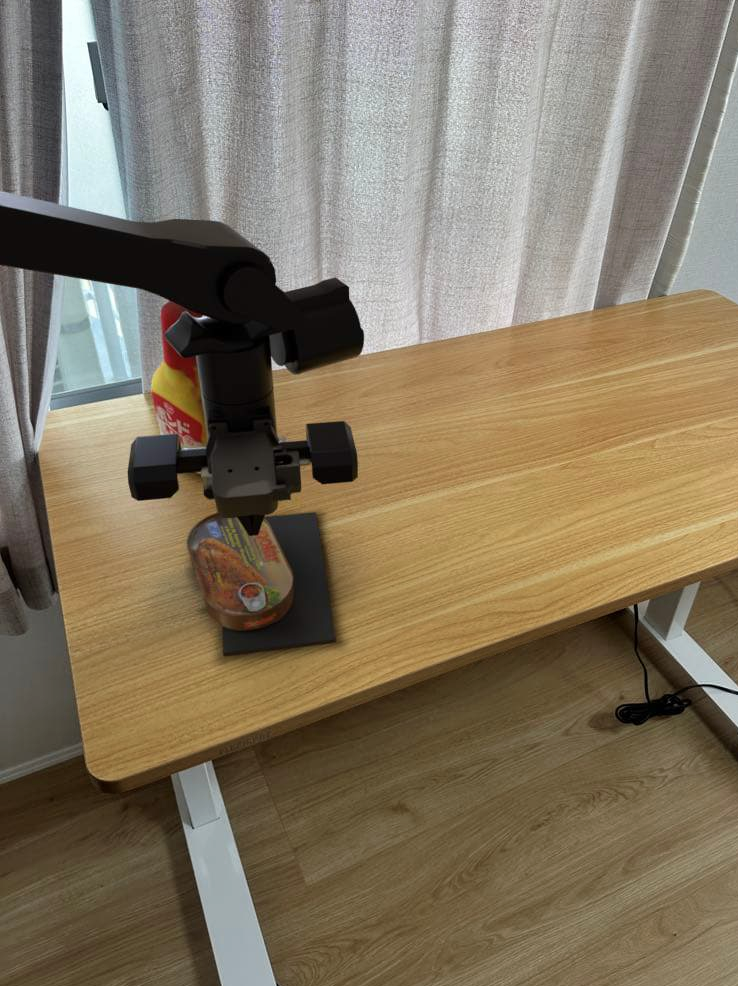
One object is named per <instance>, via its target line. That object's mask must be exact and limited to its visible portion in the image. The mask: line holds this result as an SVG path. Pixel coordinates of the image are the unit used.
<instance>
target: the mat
mask: <svg viewBox="0 0 738 986" xmlns="http://www.w3.org/2000/svg"><path fill="white" fill-rule="evenodd" d="M264 519H265V520H267V522H268V523H269V524H270V526H271V528H272V530H273V532H274V535H275V537H276V539H277V541H278V543H279V545H280V547H281V549H282V551H283V553H284V555H285V557H286V559H287V561H288V564H289V566H290V568H291V570H292V572H293V578H294V580H293V589H294V596H293V602H292V605H291V607H290V609H289V610H288V612H287V613H286V614H285V615H284V616H283V617H282V618H281V619H280V620H278V621H277V622H275V623H272V624H270V625H268V626H265V627H262V628H258V629H253V630H248V631H236V630H231V629H228V628H225V627H223V626H222V656H232V655H239V654H249V653H255V652H256V653H257V652H264V651H272V650H281V649H289V648H296V647H297V648H298V647H305V646H313V645H322V644H330V643H336V642H337V640H336V633H335V626H334V620H333V614H332V613H333V612H332V608H331V600H330V593H329V587H328V582H327V580H328V579H327V575H326V568H325V562H324V555H323V549H322V543H321V536H320V530H319V524H318V516H317V512H315V511H311V512H304V513H303V512H302V513H293V514H282V515H271V516H270V515H269V516H265V517H264Z"/></svg>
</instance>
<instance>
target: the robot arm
mask: <svg viewBox="0 0 738 986" xmlns="http://www.w3.org/2000/svg"><path fill="white" fill-rule="evenodd" d="M0 266H3V267H8V268H16V269H21V270H27V271H32V272H39V273H43V274H50V275H57V276H62V277H68V278H74V279H79V280H85V281H91V282H95V283H96V282H97V283H101V284H107V285H114V286H119V287H127V288H132V289H138V290H142V291H145V292H148V293H151V294H153V295H156V296H158V297H161V298H163V299H165V300H167V301H168V302H169V301H171V302H173V303H175V304H177V305H179V306H181V307H183V308H186V309H188V310H190V311H192V312H195V313H198V314H201V315H203V316H202V318H195V317H193V316H191V315H190V314H189V313H188V312H183V313H182V314H181V317H180V319H179V320H178V321H177V322H176V323H175V324H173V325H172V326H171V327H170V328H169V329H168V330H167V331H166V332H165V334H164V337H165V339H166V340H167V341H168V342H169V344H170V345H171V346H172V347H173V348H174V349H175V350H176V351H177V352H178V354H179V355H180V356H181V357H182V358H189V357H193V356H196V360H197V367H198V374H199V381H200V388H201V395H202V402H203V409H204V416H205V423H206V430H207V437H208V438H207V441H206V447H196V448H183V449H181V442H180V436H179V435H178V434H167V435H160V434H156V435H155V434H154V435H142V436H141V435H140V436H136V438H135V439H134V440H133V442H132V443H131V444H130V450H129V459H128V466H127V483H128V487H129V493H130V496H131V497H130V498H132V499H134V500H135V501H138V502H141V501H142V502H143V501H154V500H164V499H165V500H166V499H171V498H172V497H173V496H174V495H176V494H177V492H178V491H179V490H180V483H179V482H180V481H179V478H178V475H180V474H191V473H192V474H193V473H196V472H201V474H200V477H201V479H202V480H203V497H205V498H206V499H207V500H209V501H211V500H214V503H215V507H216V513H217V512H218V514H219V515H220V516H222V517H224V518H236V517H237V518H238V520H239V521H240V523H241V524H242V526H243V527H244V529H245V531H246V532H247V534H248V535H249V536H253V535H254V536H256V535H258V534H259V531H260V528H261V525H262V522H263V520H264V517H266V516H268V515H271V514H273V513H275V512H276V511H277V509H278V507H279V502H283V501H291V500H292V494H297V493H301V492H302V476H301V475H302V474H301V473H302V472H301V467H304V466H305V467H306V466H310V465H311V475H312V479H313V480H314V481H316V482H318V483H320V484H321V485H332V484H343V483H344V484H345V483H352V482H355V480H356V479H357V478H358V477H359V461H358V452H357V447H356V443H355V439H354V434H353V431H352V426H350V425H349V424H348V423H347V422H346V421H345V420H338V421H326V422H313V423H306V424H305V438H306V440H305V439H304V440H295V441H294V440H293V441H292V440H291V441H287V440H286V439H287V438H286V436H284V435H278V426H277V425H278V424H277V414H276V413H277V412H276V401H275V400H276V399H275V389H274V377H273V364H272V360H273V362H274V363H275V364H276V365H277V366H278V367H283V366H284V367H285V368H286V369H287V370H288V371H289V373H291V374H293V375H300V374H305V373H309V372H311V371H315V370H317V369H321V368H325V367H328V366H332V365H334V364H335V365H336V364H338V363H341V362H345V361H348V360H352V359H354V358H357V357H359V356H360V355H361V353H362V352H363V350H364V345H365V331H364V329H363V328H362V325H361V322H360V318H359V315H358V312H357V309H356V307H355V305H354V303H353V301H352V300H351V299H350V287H349V285H348V284H346V283H344V281H342V280H340V279H338V277H331V278H327V279H323V280H321V281H320V282H319V281H318V282H317V283H315V284H312V285H308V286H304V287H299V288H295V289H292V290H287V291H284V290H283V289H281V288H280V287H279V286H278V285H276V284H277V274H276V269H275V266H274V264H273V262H272V260H271V257H270V256H269V255H267V254H266V253H265V252H264V251H263V250H261V248H258V247H257V246H256V245H255V244H254V243H252V242H251V241H250V240H248V239H247V238H245V237H244V236H243V235H242V234H240V233H239V232H238V231H237V230H235V229H234V228H232V227H231V226H230V225H228V224H225V223H223V222H221V221H217V220H208V219H207V220H206V219H190V218H189V219H188V218H187V219H186V218H170V219H165V220H158V221H152V222H151V221H134V220H129V219H126V218H122V217H118V216H113V215H107V214H103V213H99V212H95V211H90V210H85V209H81V208H77V207H73V206H68V205H64V204H60V203H55V202H50V201H45V200H43V199H37V198H32V197H28V196H24V195H20V194H17V193H16V194H15V193H12V192H11V193H10V192H6V191H3V190H0Z"/></svg>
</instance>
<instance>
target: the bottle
mask: <svg viewBox="0 0 738 986" xmlns="http://www.w3.org/2000/svg"><path fill="white" fill-rule="evenodd" d="M183 312H188V313H189V314H190V315H191V316H193V317H195V318H202V317H204V315H201V314H198V313H195V312H192V311H190V310H188V309H186V308H183V307H181V306H179V305H177V304H175V303H173V302H171V301H169V300H168V301H167V302H166V303H164V304H163V305H162V306H161V308H160V329H161V341H162V342H161V343H162V351H163V361H162V362H161V363H160V364H159V366H158V367H157V368H156V369H155V372H154V374H153V376H152V378H151V387H150V392H151V398H152V404H153V407H154V410H155V415H156V420H157V423H158V426H159V435H167V434H178V435H179V436H180V442H181V449H183V448H196V447H206V441H207V438H208V437H207V430H206V423H205V416H204V409H203V402H202V395H201V388H200V381H199V374H198V367H197V360H196V356H193V357H189V358H182V357H181V356H180V355H179V354H178V352H177V351H176V350H175V349H174V348H173V347H172V346H171V345H170V344H169V342H168V341H167V340H166V339H165V337H164V334H165V332H166V331H167V330H168V329H169V328H170V327H171V326H172V325H173V324H175V323H176V322H177V321H178V320H179V319H180V317H181V314H182V313H183ZM195 473H196V474H199V475H201V472H195Z"/></svg>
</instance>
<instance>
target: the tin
mask: <svg viewBox="0 0 738 986" xmlns="http://www.w3.org/2000/svg"><path fill="white" fill-rule="evenodd" d="M185 541H186V543H185V544H186V549H187V552H188V554H189V558H190V562H191V565H192V567H193V571H194V573H195V576H196V579H197V582H198V585H199V588H200V591H201V594H202V597H203V600H204V603H205V606H206V610H207V612H208V615H209V616H210V618H211V619H212V620H213V621H214V622H215V623H216V624H217V625H219V626H220V627H222V628H223V627H225V628H228V629H231V630H236V631H248V630H253V629H258V628H262V627H265V626H268V625H270V624H272V623H275V622H277V621H278V620H280V619H281V618H282V617H283V616H284V615H285V614H286V613H287V612H288V610H289V609H290V607H291V605H292V602H293V596H294V589H293V580H294V578H293V572H292V570H291V568H290V566H289V564H288V561H287V559H286V557H285V555H284V553H283V551H282V549H281V547H280V545H279V543H278V541H277V539H276V537H275V535H274V532H273V530H272V528H271V526H270V524H269V523H268V522H267V520H265V519H264V520H263V522H262V525H261V528H260V531H259V534H258V535H256V536H254V535H253V536H249V535H248V534H247V532H246V531H245V529H244V527H243V526H242V524H241V523H240V521H239V520H238V518H237V517H236V518H224V517H222V516H220V515H219V514H218V512H217V511H216V512H214V513H212V514H210V515H208V516H205V517H204V518H202V519H201V520H199V521H198V522H197V523H195V524H194V525H193V526H192V528H191V529H190V531H189V532H188V533H187V536H186V540H185Z"/></svg>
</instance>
